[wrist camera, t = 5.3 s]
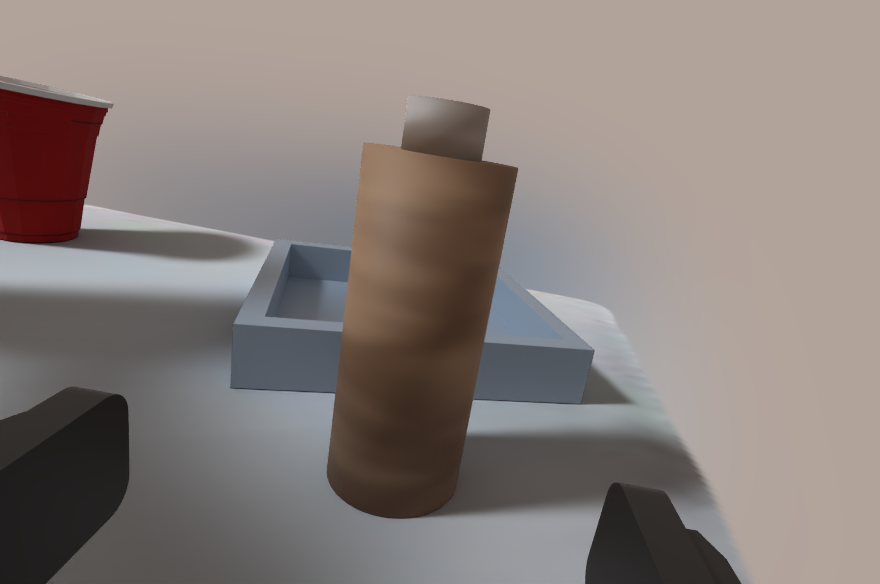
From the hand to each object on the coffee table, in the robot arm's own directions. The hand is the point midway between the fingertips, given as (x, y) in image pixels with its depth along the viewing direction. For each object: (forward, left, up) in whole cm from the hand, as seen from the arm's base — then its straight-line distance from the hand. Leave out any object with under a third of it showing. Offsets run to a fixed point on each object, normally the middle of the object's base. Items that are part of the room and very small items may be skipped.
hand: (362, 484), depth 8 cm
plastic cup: (-24, +40, -7) cm, 47 cm away
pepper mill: (+2, +10, -7) cm, 12 cm away
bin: (+4, +25, -7) cm, 26 cm away
